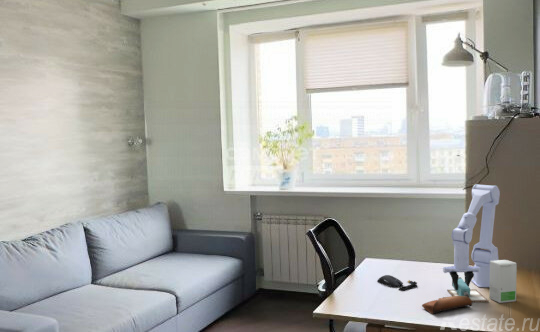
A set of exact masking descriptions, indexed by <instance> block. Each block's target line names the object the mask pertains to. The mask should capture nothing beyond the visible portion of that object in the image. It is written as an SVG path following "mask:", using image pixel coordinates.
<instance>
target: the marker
mask: <svg viewBox="0 0 540 332" xmlns="http://www.w3.org/2000/svg"><path fill="white" fill-rule="evenodd" d="M451 286H452V287H453V290H455V288H454V283H453V280H452V279H451ZM470 289H471V287H470V286H469V287H468V286H467V284H466V283H465V280H464V279H463V278H462V277H460V276H459V277H458V290H456V291H457V293H458V294H459V296H466V297H470Z"/></svg>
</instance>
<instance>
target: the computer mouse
mask: <svg viewBox="0 0 540 332" xmlns="http://www.w3.org/2000/svg"><path fill="white" fill-rule="evenodd" d="M376 282H377V283H378V284H381V285H383V286H389V287H392V288H396V287H399V288H398V291H402V292H403V291H404V292H406V291H408V290H409V289H413V288H418V285H417V284H418V282H416V281H414V280H410V279H408V280H407V283H408V285H404V286H403V284H404V282H402V281H401V280H400V279H398V278H397V277H395V276H393V275H389V274H385V275H382V276H380V277H379V278H377V281H376Z"/></svg>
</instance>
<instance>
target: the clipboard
mask: <svg viewBox="0 0 540 332" xmlns="http://www.w3.org/2000/svg"><path fill="white" fill-rule="evenodd" d="M447 292H448V294H449V295H450V296H459V294H458V293H457V291H456V290H455V289H447ZM469 298H470V299H471V301H472V303H489V302H490V301H489V300H488V298H486V297H485V296H484V295H483V294H482V293H481V292H479V290H478V289H471V288H470V297H469Z"/></svg>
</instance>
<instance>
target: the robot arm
mask: <svg viewBox="0 0 540 332" xmlns="http://www.w3.org/2000/svg"><path fill="white" fill-rule="evenodd" d="M500 194H501V192H500V188H499V187H498V185H487V184H478V183H476V184H474V185H473V186H472V188H471V198H472V199H471V202H470V204H469V208H468V210H467V212H464V213H463V215H462V217H461V219H460V221H459V223H458V224H457V226H456V227H455V228H454V229H453V230H452V232H451V235H450V237H451V240H452V245H453V262H454V263H453V265H452V266H442V272H443V273H444V274H447V273H449V275H450V277H451V281H452V280H453V283H454V287H453V289H454V288H455V289H454V290H458V277H460V275H459V274H458V273H463V275H464V282H465V283H466V284H467V286H468V287H469V288H470V284H471V283H473V284H474V285H475V286H477V287H478V288H490V261H495V260H499V249H498V247H497V246H495V245H494V243H493V236H494V235H493V234H494V225H495V224H494V223H495V216H496V206H497V205H499V203H500ZM481 208H482V212H481V213H482V214H481V224H480V234H479V242H477V243H475V244H474V245H473V249H472V251H471V255H470V243H471V241H472V240H473V239H472V238H473V233H474V231H473V229H474V227H475V226H476V223H477V220H478V217H477V215H478V214H479V212H480V210H481ZM470 256H471V257H470ZM470 258H471V260H472V262H473V263H474V265H473V266H472V265H471V266H470Z"/></svg>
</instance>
